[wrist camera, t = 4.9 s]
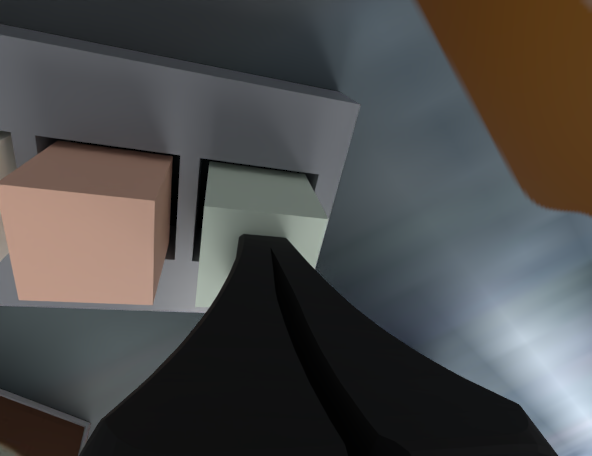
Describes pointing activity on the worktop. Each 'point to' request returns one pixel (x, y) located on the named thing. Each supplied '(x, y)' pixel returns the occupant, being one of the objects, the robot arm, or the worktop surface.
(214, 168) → the key sage
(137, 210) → the key terracotta
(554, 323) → the worktop surface
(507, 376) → the worktop surface
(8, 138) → the key cream
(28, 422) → the half round cake
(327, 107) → the key console
